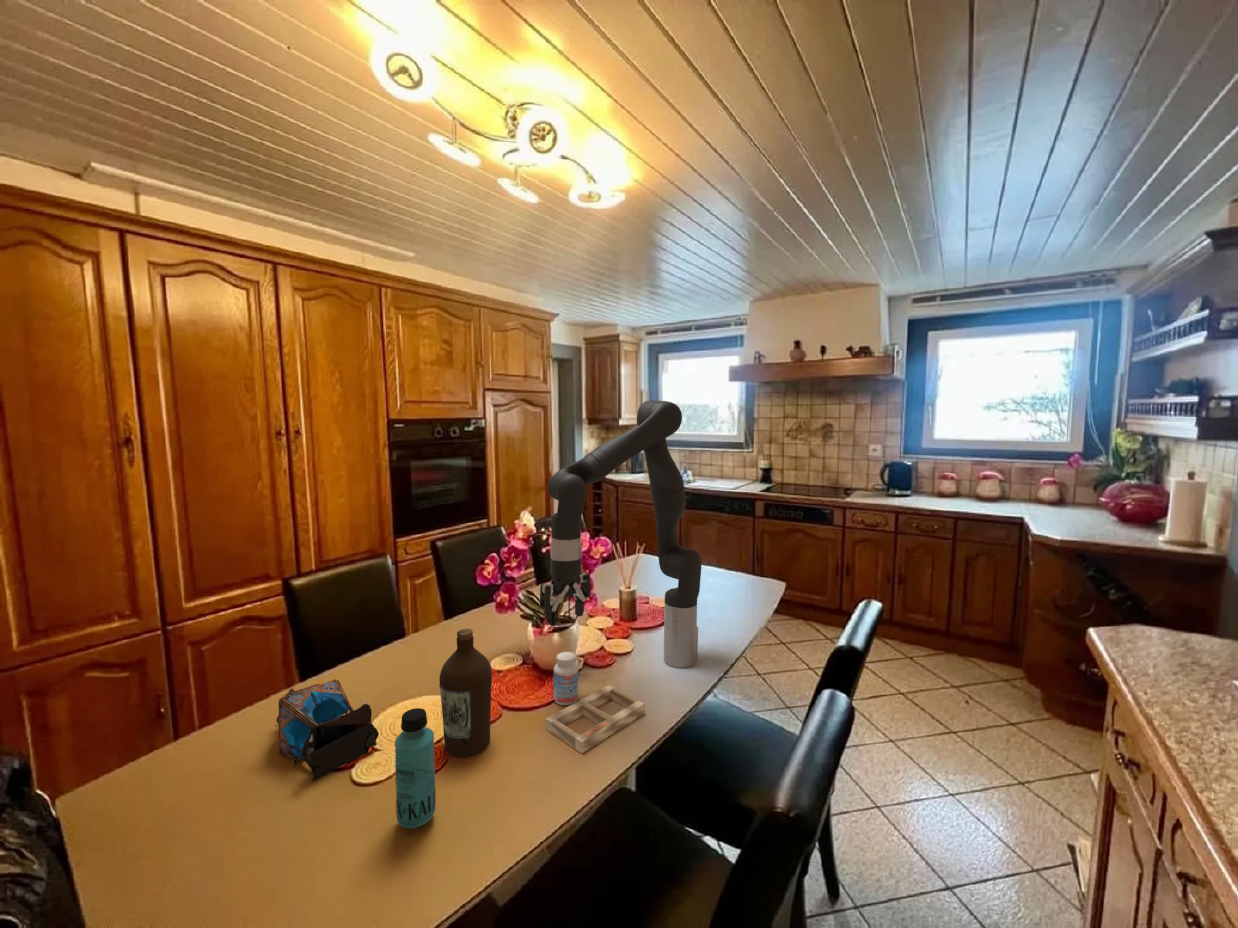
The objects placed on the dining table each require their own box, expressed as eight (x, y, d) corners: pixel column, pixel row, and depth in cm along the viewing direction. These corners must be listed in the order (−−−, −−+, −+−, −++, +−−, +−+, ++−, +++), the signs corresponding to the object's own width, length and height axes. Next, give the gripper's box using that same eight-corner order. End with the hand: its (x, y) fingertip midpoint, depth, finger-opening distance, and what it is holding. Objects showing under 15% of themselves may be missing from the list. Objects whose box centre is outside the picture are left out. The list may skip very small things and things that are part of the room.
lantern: (352, 795, 103) (293, 744, 117) (400, 714, 110) (338, 674, 124) (283, 783, 92) (226, 728, 105) (342, 693, 99) (281, 652, 113)
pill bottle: (557, 708, 123) (557, 663, 122) (550, 695, 129) (550, 652, 127) (581, 703, 125) (581, 659, 124) (573, 690, 131) (573, 648, 130)
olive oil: (461, 724, 116) (458, 618, 114) (502, 733, 113) (500, 624, 111) (430, 754, 106) (426, 638, 104) (474, 765, 103) (472, 645, 101)
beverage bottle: (403, 809, 91) (399, 703, 89) (441, 807, 92) (438, 701, 90) (390, 839, 85) (385, 725, 83) (431, 836, 86) (428, 723, 84)
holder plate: (608, 694, 129) (608, 684, 129) (644, 713, 121) (644, 702, 121) (545, 729, 115) (545, 717, 115) (581, 753, 107) (581, 741, 106)
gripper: (577, 547, 131) (577, 608, 133) (532, 557, 121) (532, 624, 122) (598, 552, 126) (597, 616, 127) (552, 564, 116) (552, 633, 117)
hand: (565, 620), depth 125 cm, fingers open, 8 cm apart
